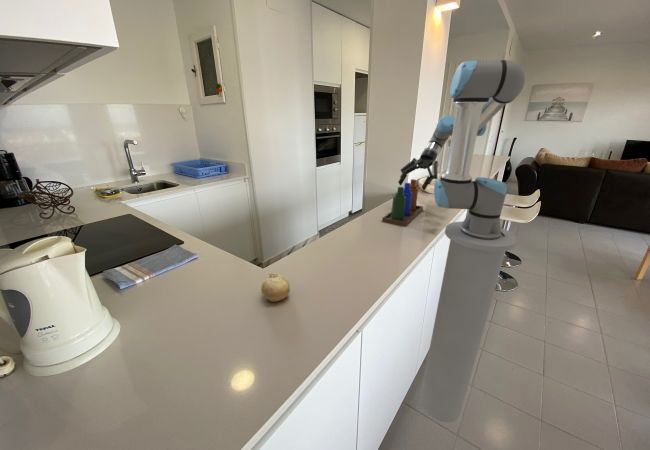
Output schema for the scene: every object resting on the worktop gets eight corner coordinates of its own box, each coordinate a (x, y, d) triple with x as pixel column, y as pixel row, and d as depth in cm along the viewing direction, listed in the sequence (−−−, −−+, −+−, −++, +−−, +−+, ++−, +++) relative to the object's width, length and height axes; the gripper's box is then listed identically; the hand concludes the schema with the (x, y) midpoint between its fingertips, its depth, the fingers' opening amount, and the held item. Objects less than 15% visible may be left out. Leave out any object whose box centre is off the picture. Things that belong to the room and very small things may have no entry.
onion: (294, 291, 81) (293, 270, 79) (283, 308, 74) (281, 285, 72) (269, 286, 83) (268, 266, 81) (256, 302, 76) (254, 280, 74)
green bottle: (404, 219, 137) (408, 186, 131) (400, 223, 132) (404, 189, 126) (393, 217, 140) (396, 185, 134) (389, 220, 136) (392, 187, 129)
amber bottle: (416, 209, 153) (420, 179, 147) (413, 211, 148) (417, 181, 142) (406, 207, 156) (409, 178, 150) (402, 209, 151) (406, 180, 145)
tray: (422, 210, 153) (423, 206, 152) (405, 226, 130) (405, 222, 129) (402, 206, 159) (402, 203, 158) (382, 221, 136) (382, 217, 135)
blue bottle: (411, 213, 145) (415, 182, 139) (407, 217, 140) (411, 185, 134) (400, 211, 148) (403, 181, 142) (396, 214, 143) (399, 183, 137)
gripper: (455, 161, 139) (435, 195, 135) (411, 155, 156) (393, 185, 152) (452, 150, 133) (432, 186, 130) (407, 146, 151) (388, 177, 147)
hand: (410, 186), depth 141 cm, fingers open, 13 cm apart
